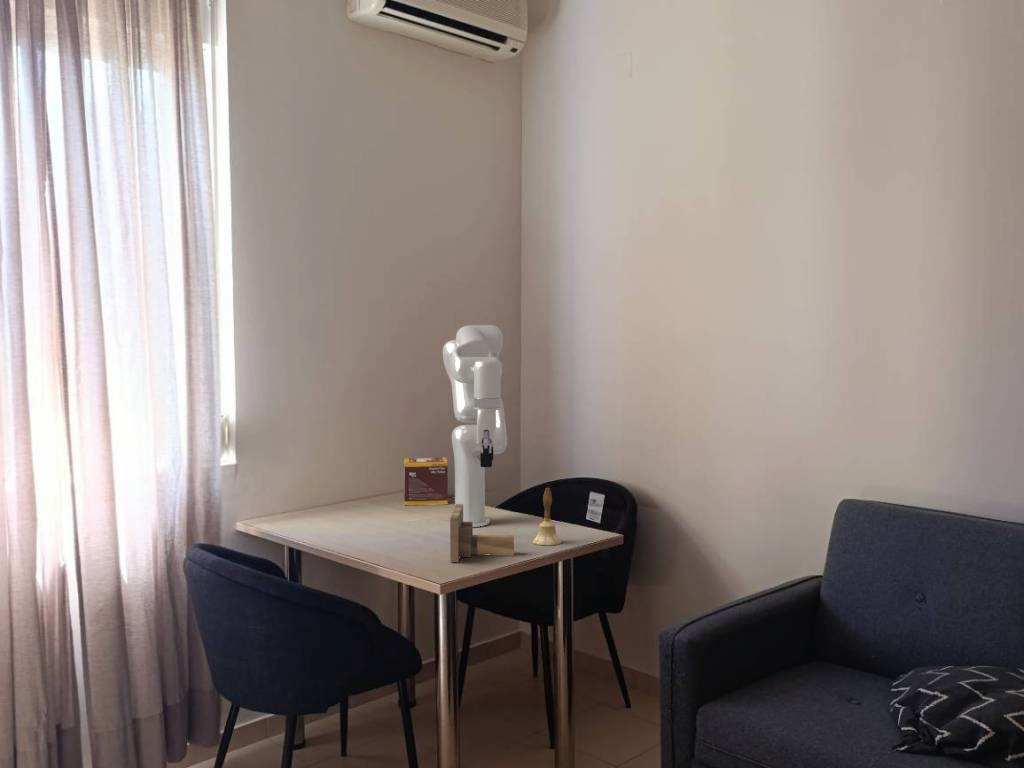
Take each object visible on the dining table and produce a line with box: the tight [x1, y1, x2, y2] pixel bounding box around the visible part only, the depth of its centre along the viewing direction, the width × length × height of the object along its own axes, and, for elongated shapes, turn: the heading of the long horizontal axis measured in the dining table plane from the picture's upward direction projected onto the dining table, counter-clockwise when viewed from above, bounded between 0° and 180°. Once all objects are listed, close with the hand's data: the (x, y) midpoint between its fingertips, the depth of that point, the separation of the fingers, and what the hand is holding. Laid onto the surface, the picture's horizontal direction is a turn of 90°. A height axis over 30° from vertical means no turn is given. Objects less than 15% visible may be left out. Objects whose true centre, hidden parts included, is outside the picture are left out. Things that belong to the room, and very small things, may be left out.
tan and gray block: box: [471, 534, 515, 556], centre depth 259 cm, size 4×14×5 cm, turn 89°
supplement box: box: [403, 456, 449, 506], centre depth 335 cm, size 10×15×16 cm
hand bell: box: [532, 487, 562, 546], centre depth 272 cm, size 8×8×16 cm
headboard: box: [449, 504, 474, 563], centre depth 259 cm, size 20×5×12 cm, turn 179°
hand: (486, 463), depth 266 cm, fingers open, 9 cm apart
